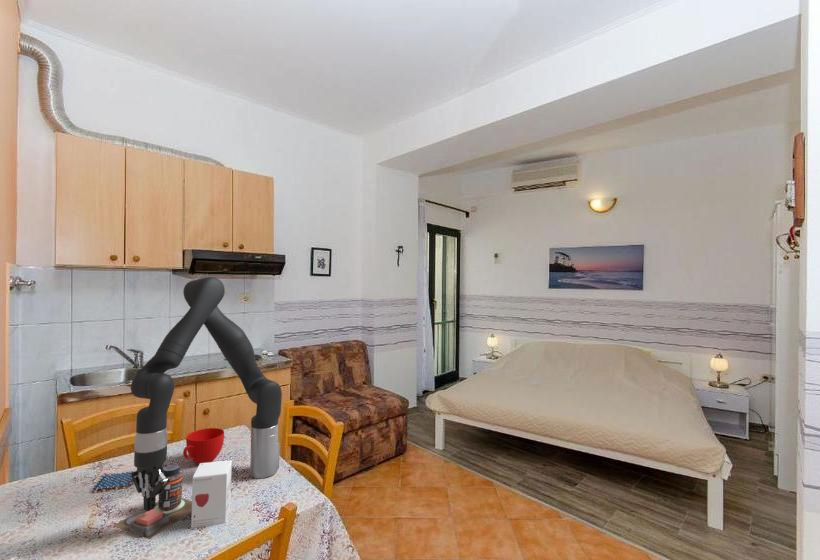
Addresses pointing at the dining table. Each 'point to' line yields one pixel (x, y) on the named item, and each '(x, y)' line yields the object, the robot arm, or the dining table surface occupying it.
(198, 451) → the ceramic cup
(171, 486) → the supplement bottle
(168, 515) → the brown tray
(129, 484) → the woven mat
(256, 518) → the dining table surface
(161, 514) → the button
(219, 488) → the supplement box
